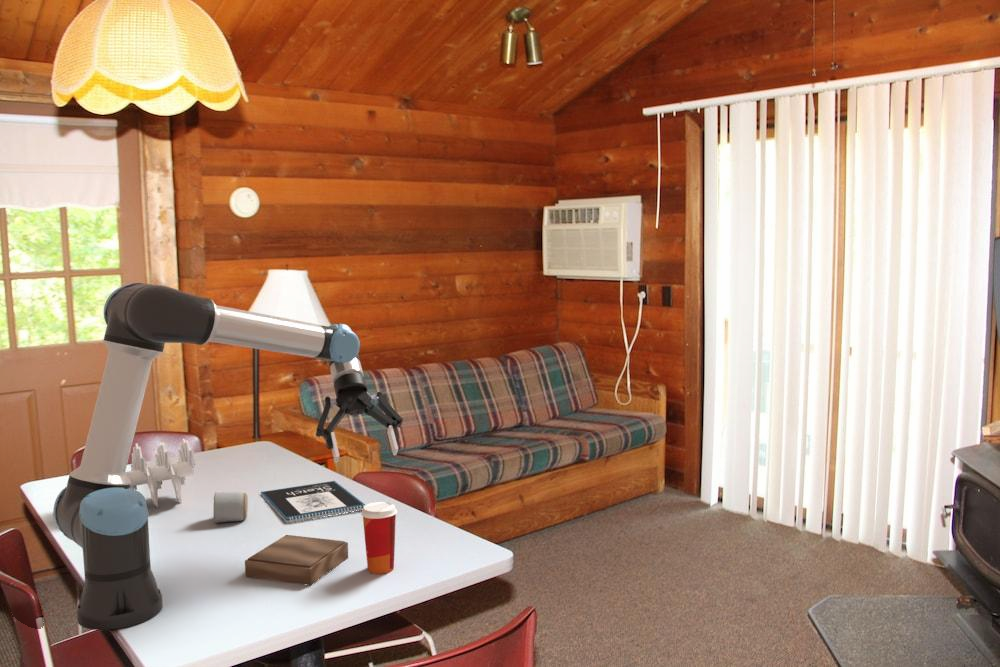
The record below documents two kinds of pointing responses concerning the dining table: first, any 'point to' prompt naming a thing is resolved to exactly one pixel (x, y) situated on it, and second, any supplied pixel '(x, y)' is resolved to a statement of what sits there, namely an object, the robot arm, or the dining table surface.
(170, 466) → the white spiked piece
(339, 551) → the walnut plinth
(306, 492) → the sketchbook
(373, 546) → the paper cup
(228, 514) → the grey cylinder
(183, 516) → the dining table surface
